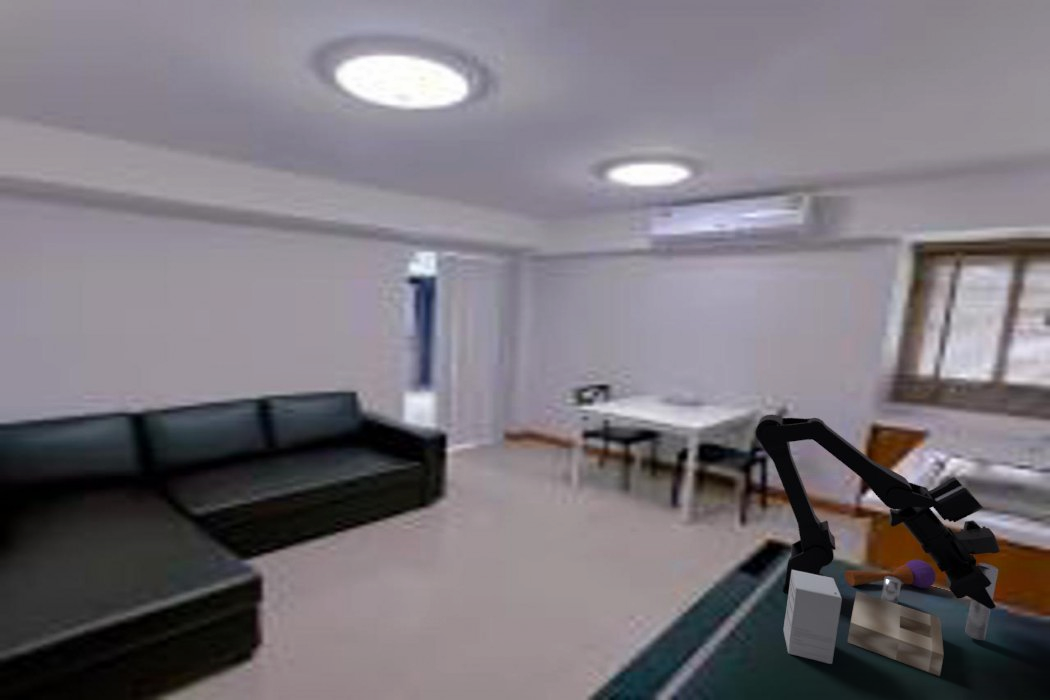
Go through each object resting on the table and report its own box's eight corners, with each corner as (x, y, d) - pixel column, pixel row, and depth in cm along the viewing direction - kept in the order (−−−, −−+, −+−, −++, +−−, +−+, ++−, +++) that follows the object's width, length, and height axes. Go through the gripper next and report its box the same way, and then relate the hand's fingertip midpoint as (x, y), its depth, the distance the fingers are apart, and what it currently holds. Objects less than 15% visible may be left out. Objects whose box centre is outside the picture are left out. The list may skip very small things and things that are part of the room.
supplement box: (825, 641, 105) (835, 577, 103) (832, 666, 98) (843, 598, 96) (782, 630, 107) (791, 568, 105) (786, 653, 100) (796, 587, 99)
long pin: (965, 635, 108) (979, 567, 106) (964, 628, 111) (977, 561, 109) (985, 642, 106) (999, 572, 105) (983, 634, 109) (997, 566, 107)
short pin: (880, 601, 120) (884, 579, 119) (881, 596, 123) (884, 574, 122) (897, 607, 118) (901, 585, 118) (897, 601, 121) (901, 579, 120)
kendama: (840, 560, 130) (920, 555, 132) (841, 586, 129) (921, 581, 131) (858, 569, 124) (941, 563, 126) (859, 596, 123) (943, 591, 125)
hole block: (847, 642, 105) (850, 622, 104) (853, 609, 116) (856, 591, 116) (939, 676, 97) (943, 655, 97) (936, 637, 109) (940, 618, 108)
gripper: (986, 530, 99) (1055, 609, 95) (959, 497, 115) (1017, 563, 112) (924, 559, 103) (988, 636, 100) (907, 523, 120) (962, 588, 117)
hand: (990, 603), depth 107 cm, fingers closed on long pin, 3 cm apart
